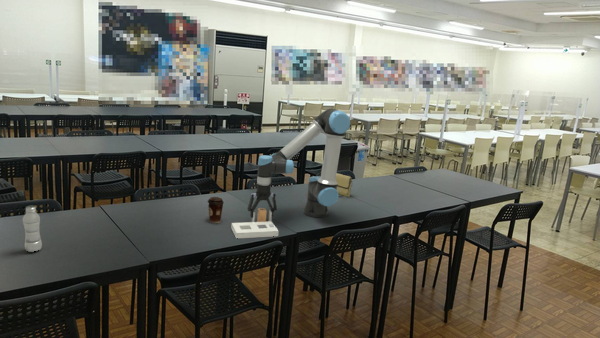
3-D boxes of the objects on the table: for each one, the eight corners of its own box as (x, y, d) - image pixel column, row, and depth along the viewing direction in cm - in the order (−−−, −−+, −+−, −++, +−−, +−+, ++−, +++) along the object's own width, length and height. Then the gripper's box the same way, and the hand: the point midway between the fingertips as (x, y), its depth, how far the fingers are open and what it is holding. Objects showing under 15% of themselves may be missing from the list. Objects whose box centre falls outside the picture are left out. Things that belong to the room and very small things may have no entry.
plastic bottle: (45, 247, 194) (42, 205, 189) (36, 254, 187) (34, 210, 183) (30, 247, 194) (27, 204, 189) (21, 253, 187) (18, 209, 182)
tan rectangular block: (264, 221, 248) (264, 207, 246) (265, 224, 244) (266, 210, 242) (257, 221, 246) (257, 208, 244) (258, 224, 243) (259, 210, 241)
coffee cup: (207, 223, 237) (208, 201, 234) (206, 218, 245) (207, 196, 242) (223, 223, 240) (224, 200, 237) (222, 218, 247) (222, 196, 244)
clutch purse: (313, 189, 320) (315, 169, 317) (319, 187, 326) (321, 168, 322) (346, 199, 301) (349, 178, 298) (352, 198, 307) (355, 177, 303)
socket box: (271, 226, 241) (271, 220, 240) (278, 236, 228) (278, 229, 227) (231, 228, 234) (231, 222, 233) (236, 238, 221) (236, 231, 220)
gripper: (280, 181, 247) (278, 219, 252) (242, 182, 240) (241, 220, 245) (284, 185, 240) (281, 224, 245) (245, 185, 233) (243, 225, 238)
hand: (261, 222), depth 245 cm, fingers open, 9 cm apart
